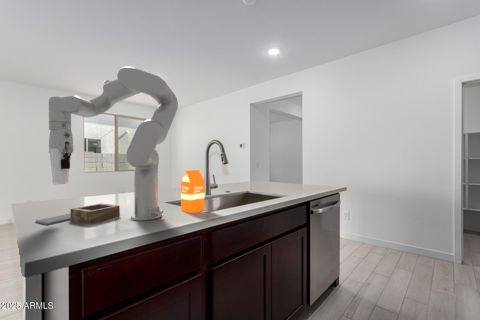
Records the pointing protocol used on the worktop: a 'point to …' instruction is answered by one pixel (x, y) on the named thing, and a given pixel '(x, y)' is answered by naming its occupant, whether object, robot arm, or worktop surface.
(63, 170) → the drinking glass
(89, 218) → the walnut holder
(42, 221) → the charcoal tile coaster
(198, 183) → the orange juice
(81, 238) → the worktop surface
